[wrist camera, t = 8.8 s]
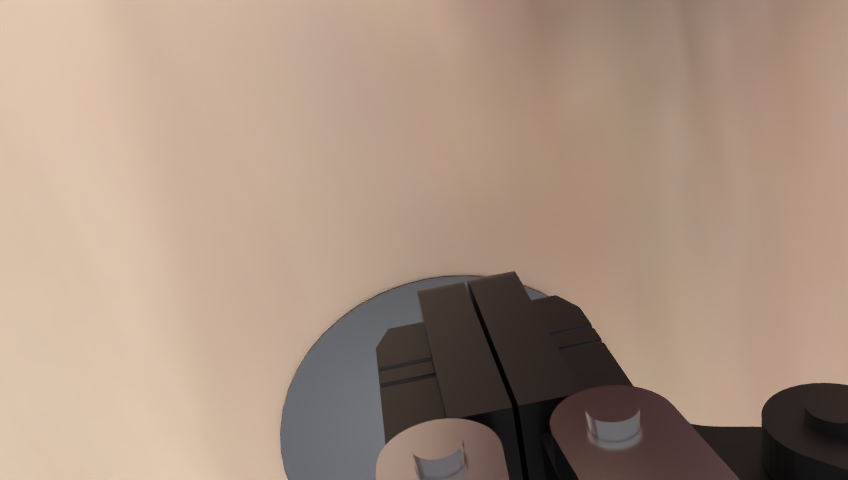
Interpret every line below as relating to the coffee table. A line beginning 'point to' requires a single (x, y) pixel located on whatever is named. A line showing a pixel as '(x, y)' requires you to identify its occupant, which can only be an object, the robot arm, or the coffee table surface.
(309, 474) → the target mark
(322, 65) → the coffee table surface
